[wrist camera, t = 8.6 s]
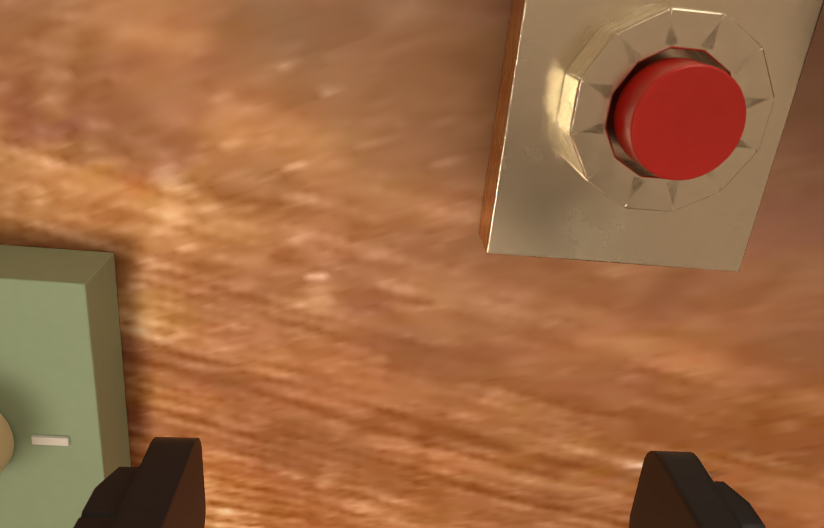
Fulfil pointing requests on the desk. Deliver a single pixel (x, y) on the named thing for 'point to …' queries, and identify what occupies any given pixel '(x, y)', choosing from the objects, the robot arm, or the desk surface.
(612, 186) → the button box
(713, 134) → the button
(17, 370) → the panel
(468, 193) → the desk surface
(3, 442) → the knob
